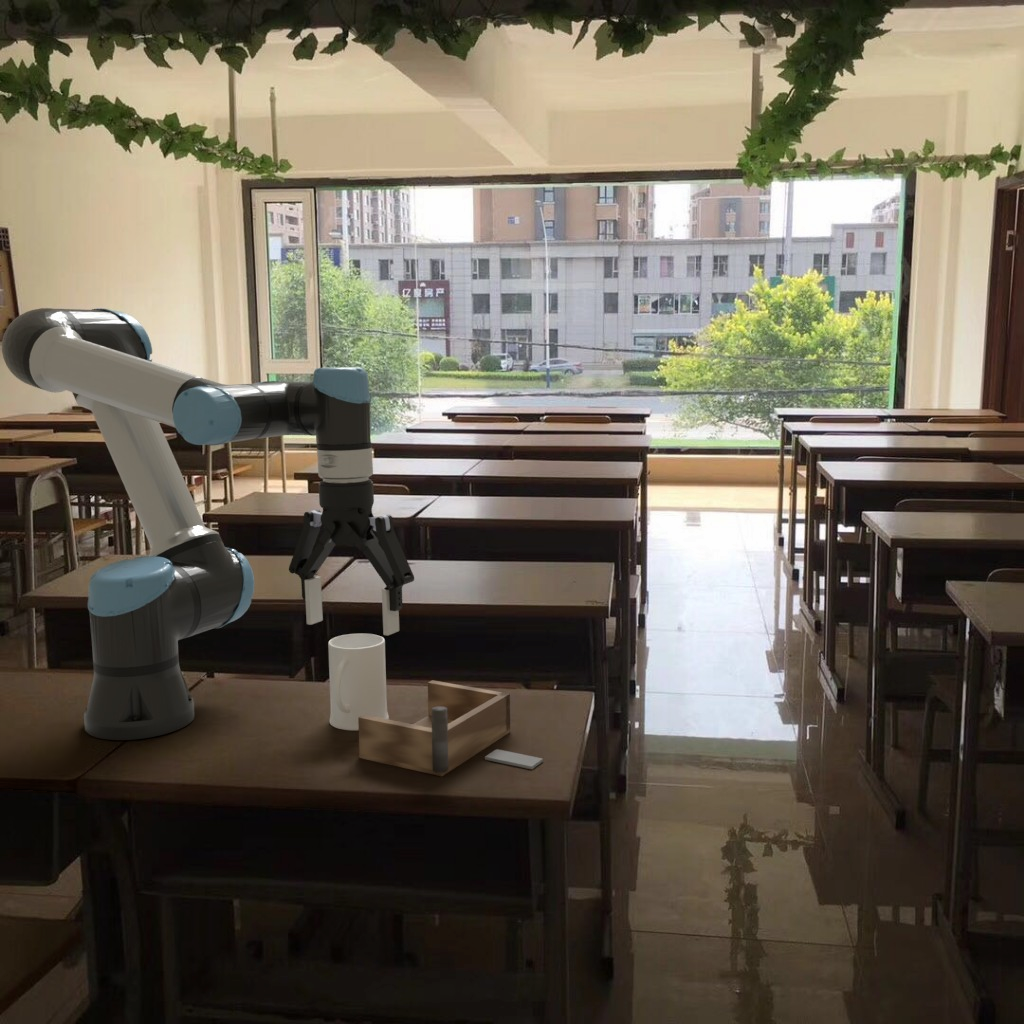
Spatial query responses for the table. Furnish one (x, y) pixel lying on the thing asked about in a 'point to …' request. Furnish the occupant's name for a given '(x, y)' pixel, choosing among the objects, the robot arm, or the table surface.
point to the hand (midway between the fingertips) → (352, 627)
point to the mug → (357, 679)
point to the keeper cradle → (438, 730)
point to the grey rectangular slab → (514, 759)
